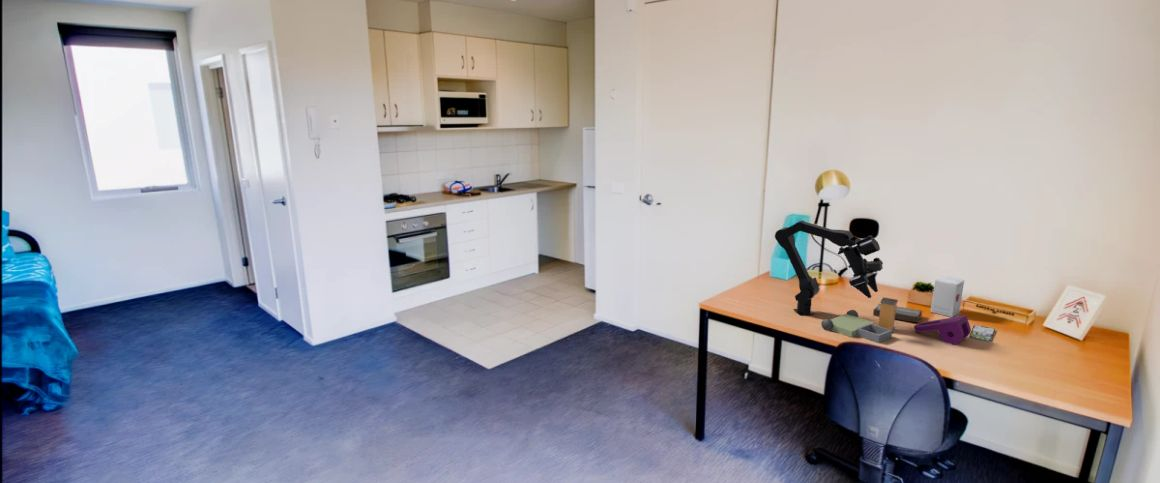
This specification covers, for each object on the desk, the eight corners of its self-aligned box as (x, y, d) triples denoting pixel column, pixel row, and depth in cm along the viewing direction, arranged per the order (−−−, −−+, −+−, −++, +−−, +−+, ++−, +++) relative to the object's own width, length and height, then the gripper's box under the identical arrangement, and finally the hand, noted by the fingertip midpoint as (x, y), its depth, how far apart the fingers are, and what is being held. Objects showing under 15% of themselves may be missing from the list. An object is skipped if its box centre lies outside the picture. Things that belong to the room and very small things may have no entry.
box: (917, 324, 254) (918, 316, 254) (872, 315, 265) (873, 308, 264) (922, 317, 263) (922, 310, 262) (878, 309, 273) (879, 302, 272)
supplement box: (952, 317, 261) (957, 284, 258) (929, 312, 268) (934, 279, 264) (960, 312, 267) (965, 279, 263) (937, 307, 274) (942, 275, 270)
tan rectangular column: (876, 330, 249) (879, 301, 246) (879, 325, 253) (882, 297, 250) (892, 333, 246) (895, 303, 243) (894, 328, 250) (898, 299, 247)
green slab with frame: (820, 328, 251) (821, 318, 250) (848, 318, 262) (849, 308, 261) (871, 346, 234) (872, 335, 233) (898, 334, 244) (899, 324, 243)
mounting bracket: (916, 348, 245) (964, 342, 232) (909, 328, 246) (956, 321, 232) (926, 342, 251) (973, 336, 237) (919, 322, 252) (966, 315, 238)
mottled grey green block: (968, 337, 241) (973, 324, 252) (968, 339, 241) (973, 326, 252) (990, 341, 236) (995, 328, 247) (990, 344, 236) (995, 331, 248)
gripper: (867, 257, 238) (886, 294, 236) (880, 247, 252) (899, 282, 250) (841, 267, 245) (859, 303, 243) (855, 257, 259) (872, 291, 257)
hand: (873, 294), depth 248 cm, fingers open, 9 cm apart
